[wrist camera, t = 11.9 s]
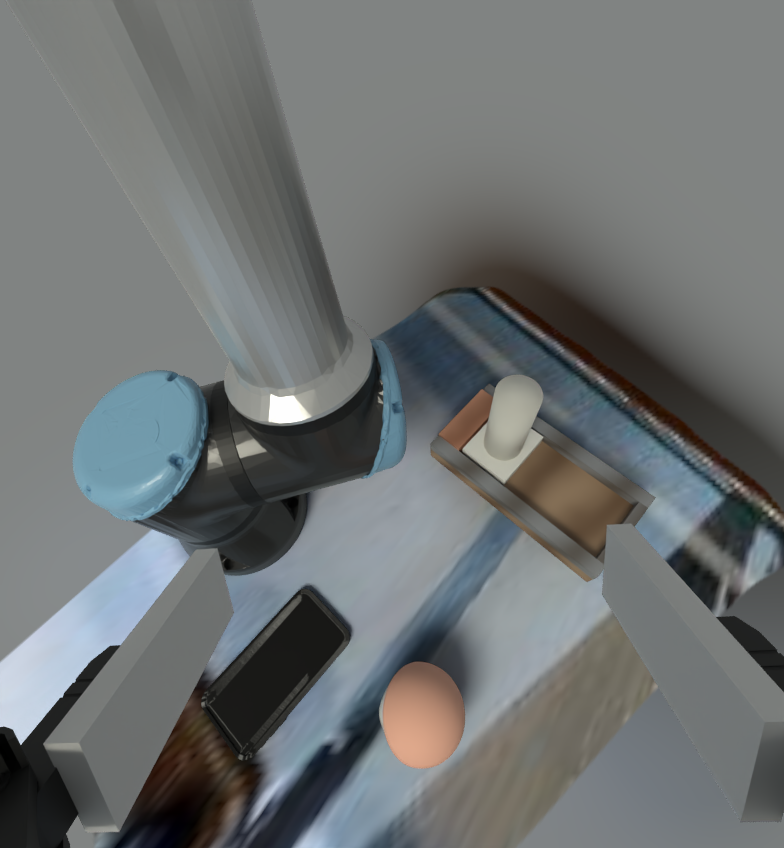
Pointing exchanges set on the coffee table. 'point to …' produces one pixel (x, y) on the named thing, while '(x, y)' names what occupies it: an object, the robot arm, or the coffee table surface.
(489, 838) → the coffee table surface
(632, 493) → the track
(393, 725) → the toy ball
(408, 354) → the coffee table surface
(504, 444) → the disc
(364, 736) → the coffee table surface
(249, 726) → the phone
